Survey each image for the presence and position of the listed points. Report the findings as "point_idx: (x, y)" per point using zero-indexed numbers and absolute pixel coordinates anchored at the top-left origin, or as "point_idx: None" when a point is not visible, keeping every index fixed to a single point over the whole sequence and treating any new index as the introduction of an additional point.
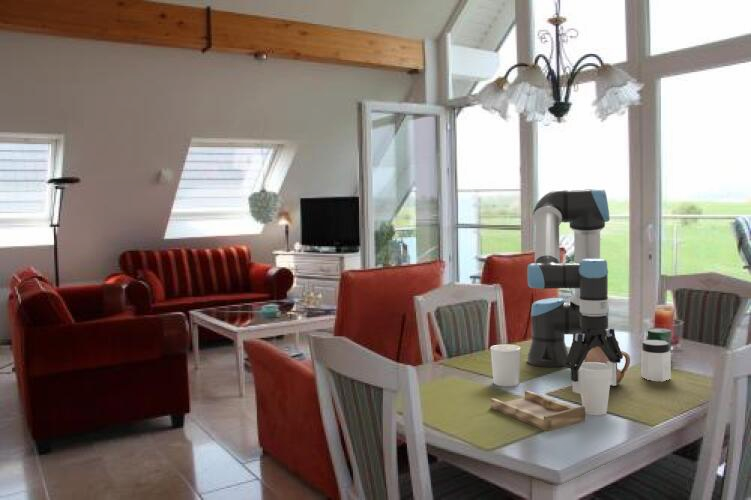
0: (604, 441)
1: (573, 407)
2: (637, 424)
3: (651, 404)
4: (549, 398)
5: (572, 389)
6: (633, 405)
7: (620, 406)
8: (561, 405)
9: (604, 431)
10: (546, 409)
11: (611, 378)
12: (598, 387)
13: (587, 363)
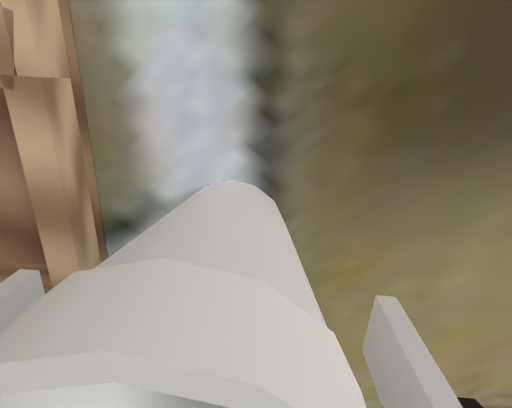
0: None
1: (64, 246)
2: None
3: (500, 315)
4: (27, 40)
5: (6, 279)
6: (435, 280)
7: (381, 256)
8: (28, 185)
9: None
10: (4, 93)
11: (385, 371)
12: (148, 396)
13: (220, 394)
